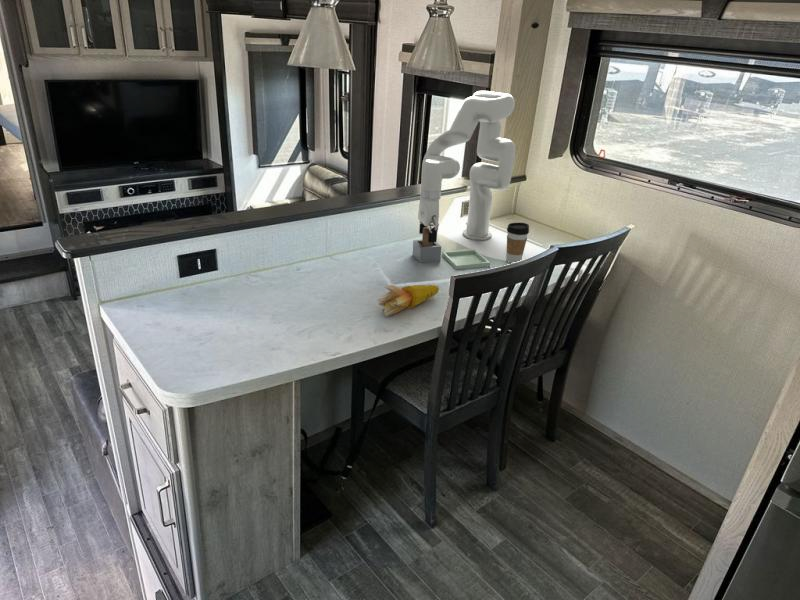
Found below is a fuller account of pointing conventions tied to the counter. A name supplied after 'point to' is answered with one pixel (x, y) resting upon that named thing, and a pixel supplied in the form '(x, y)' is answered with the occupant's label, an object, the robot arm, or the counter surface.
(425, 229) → the walnut dowel
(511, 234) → the coffee cup
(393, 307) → the corn cob
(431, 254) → the square cup
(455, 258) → the sage tray
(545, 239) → the counter surface
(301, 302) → the counter surface
